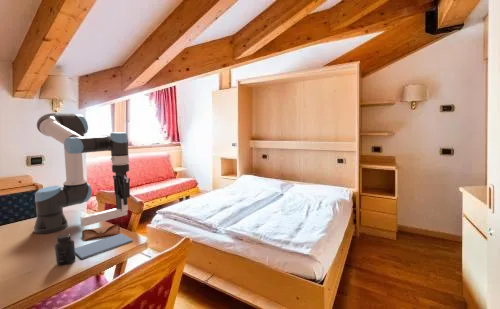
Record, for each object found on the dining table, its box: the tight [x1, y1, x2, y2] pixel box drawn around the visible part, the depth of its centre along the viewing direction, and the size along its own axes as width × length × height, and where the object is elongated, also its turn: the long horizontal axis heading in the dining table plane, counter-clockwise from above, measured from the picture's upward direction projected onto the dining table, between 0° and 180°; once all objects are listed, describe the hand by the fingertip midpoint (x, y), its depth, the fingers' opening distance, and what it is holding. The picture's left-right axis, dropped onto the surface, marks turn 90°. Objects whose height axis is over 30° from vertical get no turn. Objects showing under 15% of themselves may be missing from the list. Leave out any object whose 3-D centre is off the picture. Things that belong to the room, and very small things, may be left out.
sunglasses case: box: [81, 224, 121, 242], centre depth 138 cm, size 18×7×7 cm, turn 121°
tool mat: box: [75, 232, 134, 260], centre depth 126 cm, size 12×23×1 cm, turn 141°
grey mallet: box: [79, 193, 128, 227], centre depth 122 cm, size 4×20×11 cm, turn 141°
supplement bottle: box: [54, 233, 77, 267], centre depth 111 cm, size 7×7×12 cm
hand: (122, 209), depth 129 cm, fingers closed on grey mallet, 4 cm apart
